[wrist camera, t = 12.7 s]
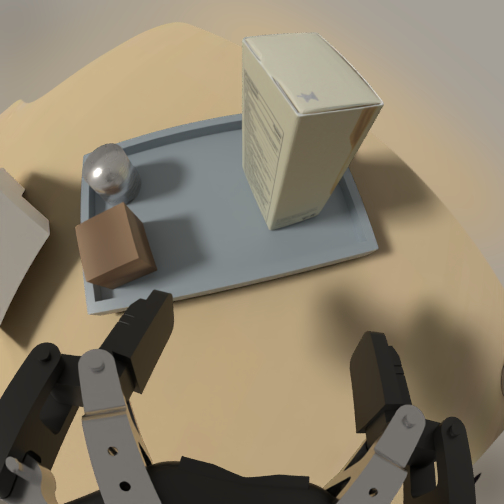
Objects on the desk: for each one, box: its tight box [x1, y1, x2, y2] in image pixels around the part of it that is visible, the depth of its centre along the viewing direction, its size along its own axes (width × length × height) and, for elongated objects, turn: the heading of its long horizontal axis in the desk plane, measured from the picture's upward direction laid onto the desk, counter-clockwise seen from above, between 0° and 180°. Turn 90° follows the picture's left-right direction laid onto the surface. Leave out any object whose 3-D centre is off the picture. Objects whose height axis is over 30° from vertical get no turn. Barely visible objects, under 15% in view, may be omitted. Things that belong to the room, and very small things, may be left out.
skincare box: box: [242, 33, 383, 230], centre depth 15 cm, size 6×4×12 cm
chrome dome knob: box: [82, 143, 141, 207], centre depth 19 cm, size 4×4×4 cm
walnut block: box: [75, 202, 157, 289], centre depth 18 cm, size 4×4×4 cm
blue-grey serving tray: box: [81, 114, 379, 315], centre depth 21 cm, size 22×14×3 cm, turn 103°
